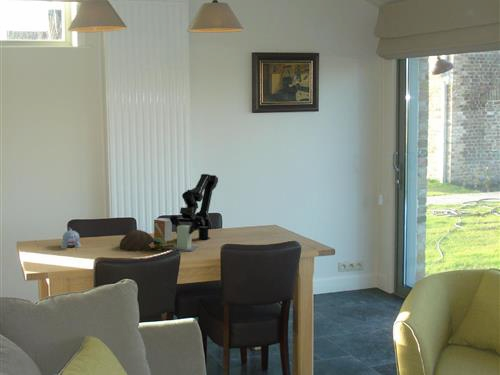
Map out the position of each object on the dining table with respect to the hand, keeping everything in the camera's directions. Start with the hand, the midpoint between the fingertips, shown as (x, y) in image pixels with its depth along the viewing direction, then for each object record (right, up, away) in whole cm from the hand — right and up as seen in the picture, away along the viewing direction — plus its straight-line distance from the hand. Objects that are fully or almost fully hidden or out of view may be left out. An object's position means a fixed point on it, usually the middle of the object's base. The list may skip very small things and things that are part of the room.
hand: (183, 233), depth 394 cm
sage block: (0, -8, +2) cm, 8 cm away
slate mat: (0, -8, +2) cm, 9 cm away
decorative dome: (-25, -8, +5) cm, 27 cm away
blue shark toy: (-62, -8, +5) cm, 63 cm away
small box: (-13, -6, +20) cm, 25 cm away
